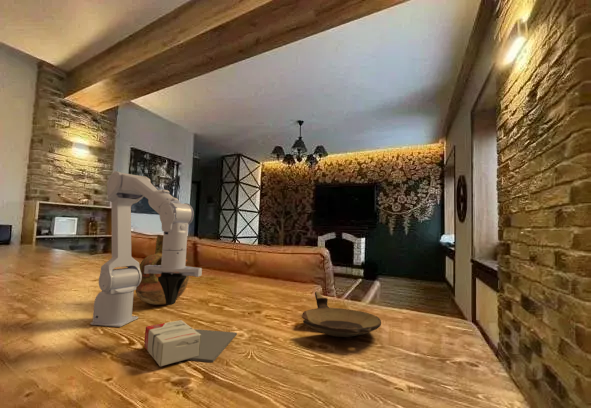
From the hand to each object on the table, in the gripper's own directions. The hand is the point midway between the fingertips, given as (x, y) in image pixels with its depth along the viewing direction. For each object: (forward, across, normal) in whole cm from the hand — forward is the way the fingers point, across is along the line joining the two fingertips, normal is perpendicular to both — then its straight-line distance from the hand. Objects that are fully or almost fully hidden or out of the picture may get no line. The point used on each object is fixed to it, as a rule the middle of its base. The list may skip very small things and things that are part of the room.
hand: (170, 303), depth 72 cm
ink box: (+6, 0, +2) cm, 7 cm away
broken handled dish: (+10, -43, -18) cm, 48 cm away
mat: (+9, -8, 0) cm, 12 cm away
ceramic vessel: (+10, +21, -32) cm, 39 cm away
